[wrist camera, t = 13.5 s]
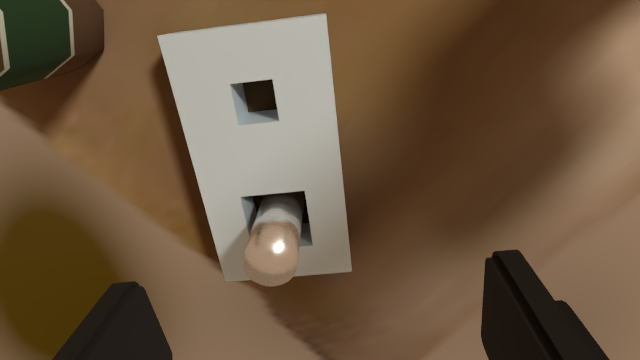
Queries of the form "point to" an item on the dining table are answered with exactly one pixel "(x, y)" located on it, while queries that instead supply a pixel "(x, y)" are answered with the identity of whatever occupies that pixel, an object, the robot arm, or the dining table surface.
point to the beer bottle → (47, 38)
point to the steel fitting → (275, 239)
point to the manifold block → (262, 133)
